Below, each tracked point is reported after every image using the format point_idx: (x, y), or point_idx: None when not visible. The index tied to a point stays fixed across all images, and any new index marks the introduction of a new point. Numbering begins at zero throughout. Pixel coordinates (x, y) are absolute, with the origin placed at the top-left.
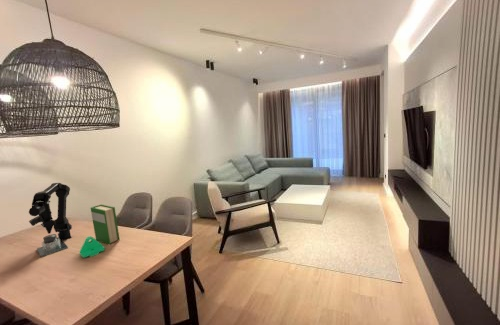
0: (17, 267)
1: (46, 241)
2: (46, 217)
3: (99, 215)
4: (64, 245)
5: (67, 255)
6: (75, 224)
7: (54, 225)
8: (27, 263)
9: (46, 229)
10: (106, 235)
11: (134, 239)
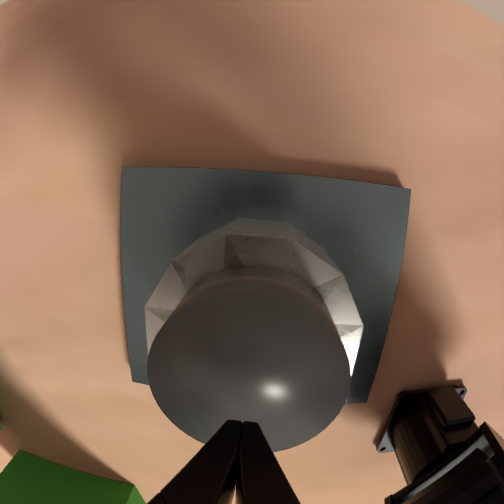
0: (99, 15)
1: (189, 293)
2: None
3: None
4: None
5: (5, 309)
6: None
7: (493, 497)
8: (98, 68)
9: (149, 501)
10: (3, 482)
11: None
